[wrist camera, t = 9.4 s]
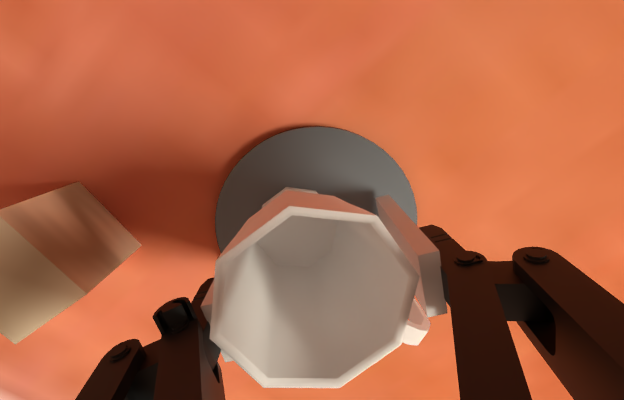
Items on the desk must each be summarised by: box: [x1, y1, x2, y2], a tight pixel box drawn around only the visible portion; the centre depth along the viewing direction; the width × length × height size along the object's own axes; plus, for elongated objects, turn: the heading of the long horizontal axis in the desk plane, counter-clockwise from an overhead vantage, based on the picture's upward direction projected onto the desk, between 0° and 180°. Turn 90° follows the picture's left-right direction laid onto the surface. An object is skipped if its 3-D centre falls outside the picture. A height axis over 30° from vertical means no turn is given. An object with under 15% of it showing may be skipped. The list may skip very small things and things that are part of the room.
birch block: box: [0, 181, 142, 344], centre depth 16 cm, size 5×5×5 cm
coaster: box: [215, 126, 417, 253], centre depth 18 cm, size 12×12×1 cm
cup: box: [209, 187, 431, 388], centre depth 14 cm, size 7×10×8 cm
